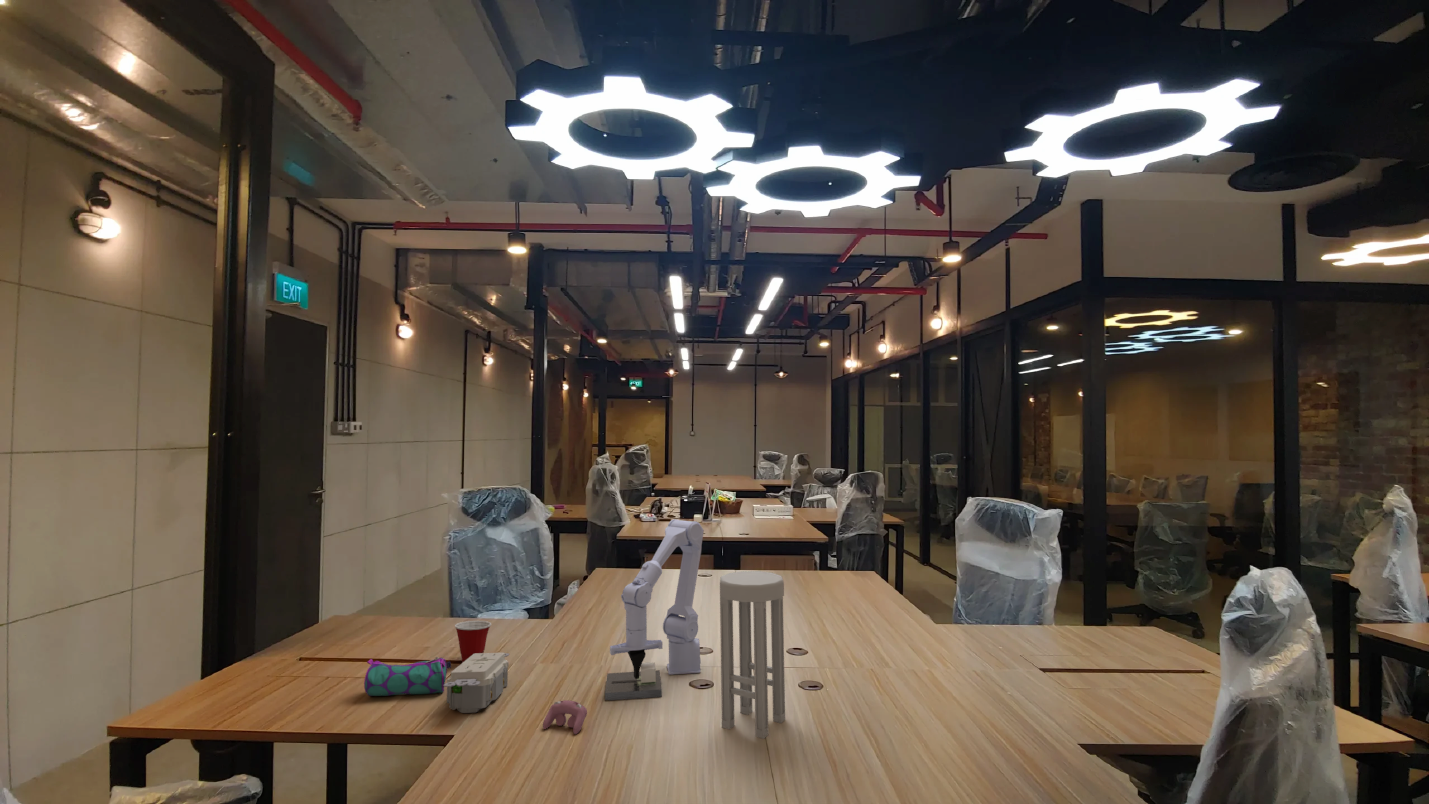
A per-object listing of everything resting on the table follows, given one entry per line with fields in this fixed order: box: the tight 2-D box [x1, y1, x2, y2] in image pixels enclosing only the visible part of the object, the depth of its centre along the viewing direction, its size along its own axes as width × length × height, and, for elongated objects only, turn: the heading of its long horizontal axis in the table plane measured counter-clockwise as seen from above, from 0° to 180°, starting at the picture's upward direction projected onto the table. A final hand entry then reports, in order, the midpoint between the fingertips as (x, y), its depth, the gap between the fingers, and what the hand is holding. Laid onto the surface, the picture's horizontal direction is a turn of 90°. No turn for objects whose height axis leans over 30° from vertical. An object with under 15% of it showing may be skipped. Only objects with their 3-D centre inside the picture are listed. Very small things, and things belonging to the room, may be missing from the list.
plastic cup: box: [454, 620, 492, 663], centre depth 198 cm, size 11×11×12 cm
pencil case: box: [363, 656, 452, 697], centre depth 175 cm, size 21×9×10 cm, turn 99°
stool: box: [719, 570, 786, 740], centre depth 154 cm, size 16×16×35 cm
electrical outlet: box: [443, 652, 510, 714], centre depth 170 cm, size 12×28×10 cm, turn 2°
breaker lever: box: [640, 661, 657, 683], centre depth 176 cm, size 4×5×4 cm
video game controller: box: [542, 699, 588, 735], centre depth 153 cm, size 10×5×7 cm, turn 72°
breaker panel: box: [604, 670, 663, 701], centre depth 176 cm, size 15×14×2 cm
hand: (636, 677), depth 176 cm, fingers closed
